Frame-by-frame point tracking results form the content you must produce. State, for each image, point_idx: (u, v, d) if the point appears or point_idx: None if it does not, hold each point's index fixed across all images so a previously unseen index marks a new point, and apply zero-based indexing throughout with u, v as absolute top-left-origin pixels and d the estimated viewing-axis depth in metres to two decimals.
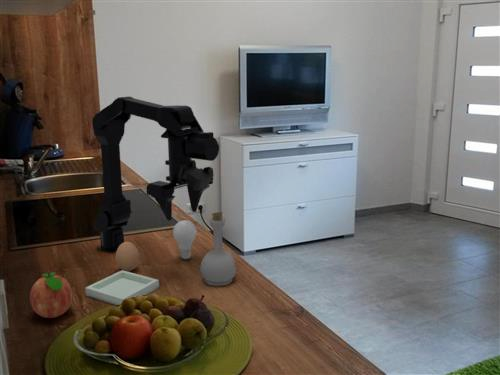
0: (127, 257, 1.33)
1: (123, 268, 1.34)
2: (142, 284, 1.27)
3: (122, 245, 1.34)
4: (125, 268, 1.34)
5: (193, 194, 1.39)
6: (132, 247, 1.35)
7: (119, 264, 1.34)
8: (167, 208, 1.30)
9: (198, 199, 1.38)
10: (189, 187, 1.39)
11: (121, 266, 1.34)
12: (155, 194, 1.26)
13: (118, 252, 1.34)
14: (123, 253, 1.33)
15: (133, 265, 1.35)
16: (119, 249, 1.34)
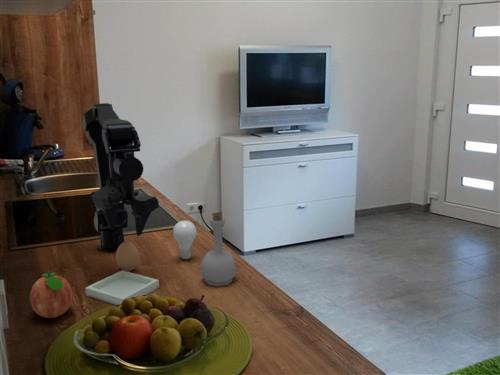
0: (127, 257, 1.33)
1: (123, 268, 1.34)
2: (142, 284, 1.27)
3: (122, 245, 1.34)
4: (125, 268, 1.34)
5: None
6: (132, 247, 1.35)
7: (119, 264, 1.34)
8: None
9: (136, 223, 1.30)
10: None
11: (121, 266, 1.34)
12: None
13: (118, 252, 1.34)
14: (123, 253, 1.33)
15: (133, 265, 1.35)
16: (119, 249, 1.34)
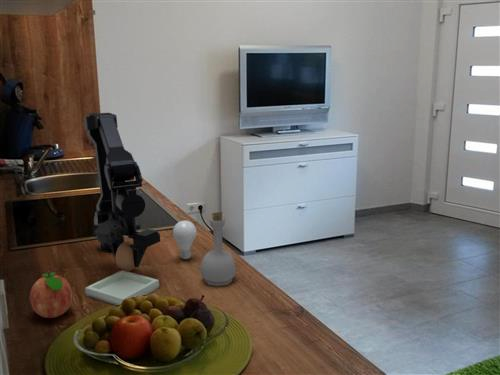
0: (127, 257, 1.33)
1: (123, 268, 1.34)
2: (142, 284, 1.27)
3: (122, 245, 1.34)
4: (125, 268, 1.34)
5: None
6: None
7: (119, 264, 1.34)
8: None
9: (134, 256, 1.33)
10: None
11: (121, 266, 1.34)
12: None
13: (118, 252, 1.34)
14: (123, 253, 1.33)
15: (133, 265, 1.35)
16: (119, 249, 1.34)
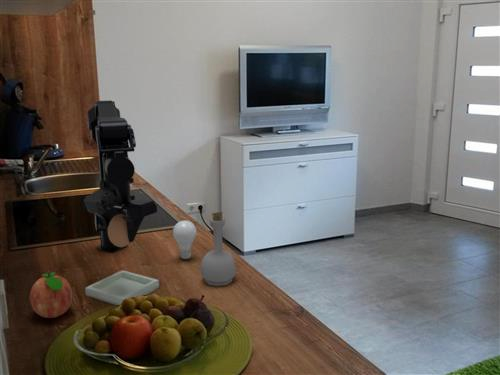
0: (120, 231, 1.21)
1: (116, 242, 1.22)
2: (142, 284, 1.27)
3: (115, 217, 1.22)
4: (118, 243, 1.22)
5: None
6: None
7: (112, 238, 1.21)
8: None
9: (128, 229, 1.20)
10: None
11: (114, 241, 1.21)
12: None
13: (111, 225, 1.21)
14: (116, 226, 1.21)
15: (127, 240, 1.22)
16: (112, 222, 1.22)
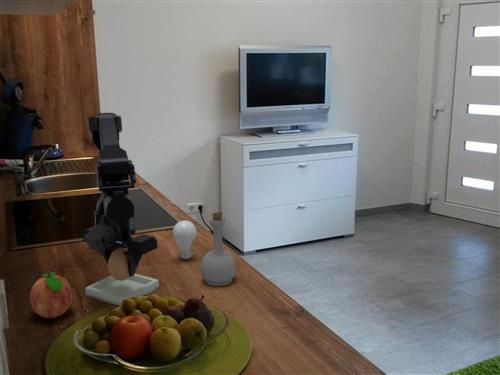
0: (120, 265, 1.20)
1: (116, 277, 1.21)
2: (142, 284, 1.27)
3: (115, 252, 1.21)
4: (118, 277, 1.21)
5: None
6: None
7: (112, 273, 1.21)
8: None
9: (128, 264, 1.20)
10: None
11: (114, 275, 1.21)
12: None
13: (111, 259, 1.21)
14: (117, 261, 1.20)
15: (127, 274, 1.22)
16: (112, 256, 1.21)
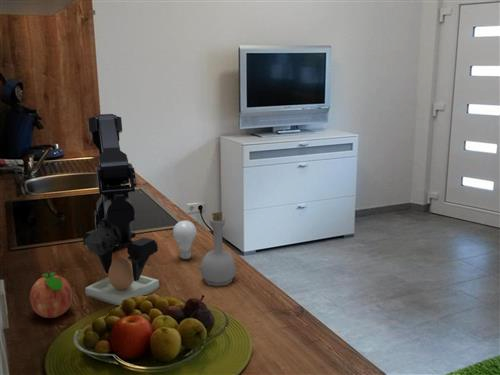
0: (120, 275, 1.21)
1: (116, 286, 1.22)
2: (142, 284, 1.27)
3: (115, 261, 1.22)
4: (119, 287, 1.22)
5: None
6: (126, 263, 1.22)
7: (112, 282, 1.22)
8: None
9: (133, 269, 1.20)
10: None
11: (114, 284, 1.22)
12: None
13: (111, 269, 1.22)
14: (117, 270, 1.21)
15: (128, 283, 1.22)
16: (112, 266, 1.22)
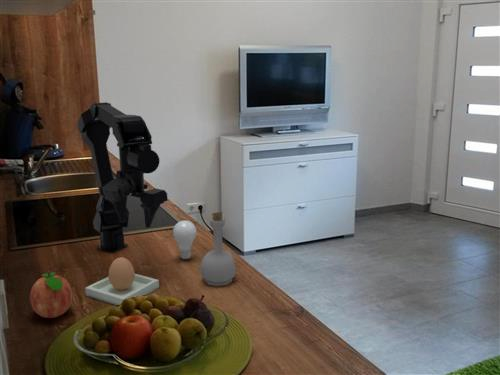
0: (120, 275, 1.21)
1: (116, 286, 1.22)
2: (142, 284, 1.27)
3: (116, 261, 1.22)
4: (119, 287, 1.22)
5: None
6: (127, 263, 1.22)
7: (112, 282, 1.22)
8: None
9: (145, 216, 1.33)
10: None
11: (114, 284, 1.22)
12: None
13: (111, 269, 1.22)
14: (117, 270, 1.21)
15: (128, 283, 1.22)
16: (112, 266, 1.22)
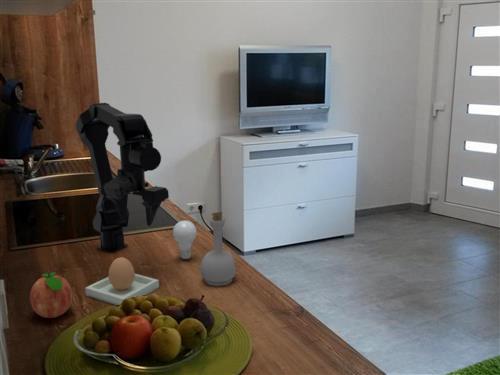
0: (121, 275, 1.21)
1: (116, 286, 1.22)
2: (142, 284, 1.27)
3: (116, 261, 1.22)
4: (119, 287, 1.22)
5: None
6: (127, 263, 1.22)
7: (112, 282, 1.22)
8: None
9: (147, 214, 1.33)
10: None
11: (114, 284, 1.22)
12: None
13: (111, 269, 1.22)
14: (117, 270, 1.21)
15: (128, 283, 1.22)
16: (112, 266, 1.22)
